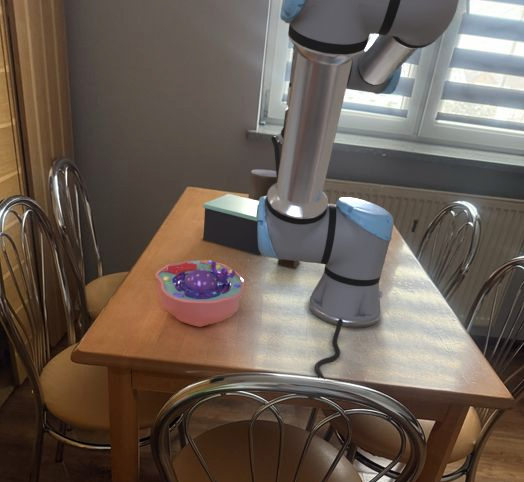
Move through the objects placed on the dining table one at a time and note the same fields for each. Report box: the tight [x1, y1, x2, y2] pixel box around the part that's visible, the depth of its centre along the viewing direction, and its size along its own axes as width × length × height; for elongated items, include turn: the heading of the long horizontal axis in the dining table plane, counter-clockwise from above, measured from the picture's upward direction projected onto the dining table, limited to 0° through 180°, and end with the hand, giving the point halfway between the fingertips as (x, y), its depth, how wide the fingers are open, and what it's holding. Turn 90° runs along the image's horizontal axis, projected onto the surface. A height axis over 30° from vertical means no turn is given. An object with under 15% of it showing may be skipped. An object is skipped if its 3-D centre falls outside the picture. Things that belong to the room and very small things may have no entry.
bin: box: [202, 208, 261, 256], centre depth 139 cm, size 14×17×9 cm
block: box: [277, 259, 301, 269], centre depth 129 cm, size 4×4×4 cm
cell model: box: [154, 259, 246, 328], centre depth 97 cm, size 17×20×11 cm
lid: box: [202, 193, 259, 221], centre depth 136 cm, size 14×17×4 cm
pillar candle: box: [247, 169, 278, 201], centre depth 159 cm, size 10×10×15 cm
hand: (287, 208), depth 132 cm, fingers closed
